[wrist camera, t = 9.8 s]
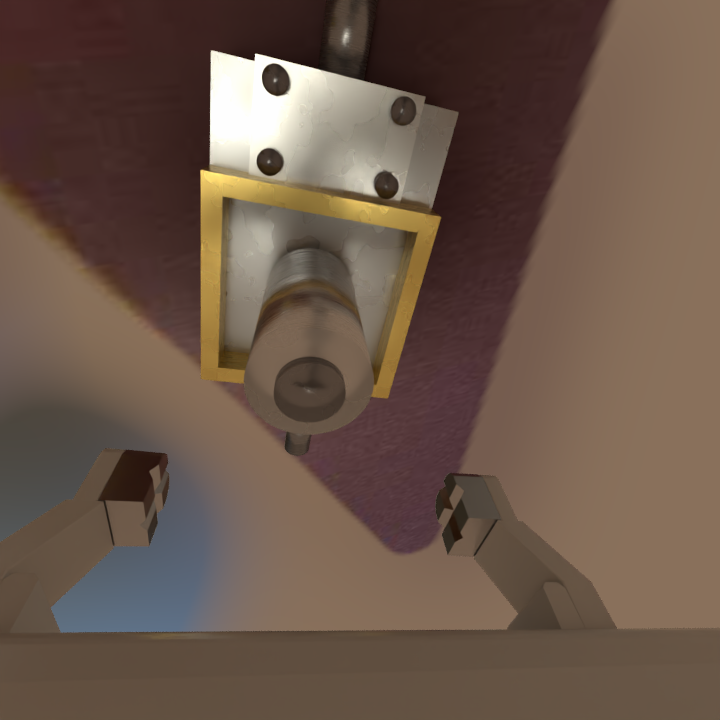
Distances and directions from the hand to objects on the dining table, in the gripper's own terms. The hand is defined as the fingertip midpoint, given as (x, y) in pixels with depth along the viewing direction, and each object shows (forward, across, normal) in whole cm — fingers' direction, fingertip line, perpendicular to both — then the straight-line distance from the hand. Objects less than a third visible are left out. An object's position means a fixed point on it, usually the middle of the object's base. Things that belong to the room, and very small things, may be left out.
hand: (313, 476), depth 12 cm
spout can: (+15, 0, +2) cm, 15 cm away
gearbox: (+19, 0, -3) cm, 19 cm away
